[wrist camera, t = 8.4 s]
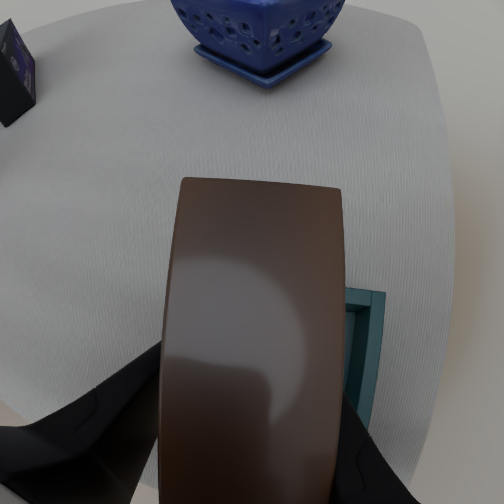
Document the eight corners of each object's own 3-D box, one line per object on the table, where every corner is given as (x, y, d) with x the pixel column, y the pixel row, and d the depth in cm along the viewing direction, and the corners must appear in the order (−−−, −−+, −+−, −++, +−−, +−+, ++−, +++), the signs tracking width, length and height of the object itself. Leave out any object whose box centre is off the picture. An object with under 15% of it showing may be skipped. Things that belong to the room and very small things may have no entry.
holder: (367, 301, 22) (386, 292, 18) (336, 483, 18) (347, 505, 14) (268, 289, 23) (268, 276, 19) (237, 474, 18) (231, 496, 15)
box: (39, 102, 32) (-2, 47, 21) (5, 129, 31) (-38, 81, 20) (37, 59, 37) (9, 16, 25) (9, 80, 36) (-21, 40, 25)
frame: (279, 283, 17) (342, 187, 7) (269, 459, 14) (312, 589, 4) (215, 280, 17) (181, 175, 6) (205, 455, 14) (165, 585, 4)
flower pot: (258, 21, 33) (254, -51, 22) (342, 57, 30) (356, -26, 19) (182, 64, 31) (159, -18, 20) (268, 111, 28) (265, 5, 16)
